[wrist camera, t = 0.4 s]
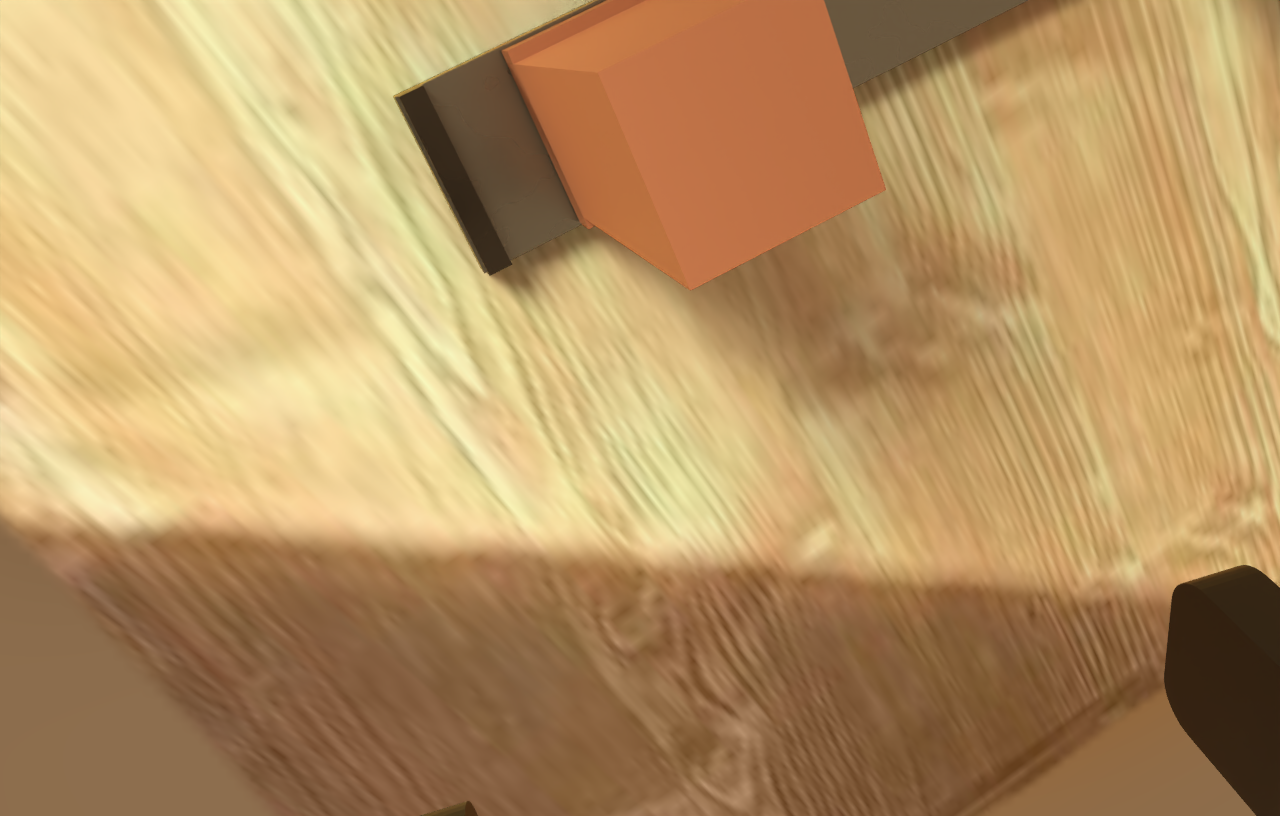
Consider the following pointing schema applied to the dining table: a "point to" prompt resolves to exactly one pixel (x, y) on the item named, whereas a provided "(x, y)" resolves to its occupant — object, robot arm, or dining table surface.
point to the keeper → (698, 125)
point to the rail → (519, 162)
